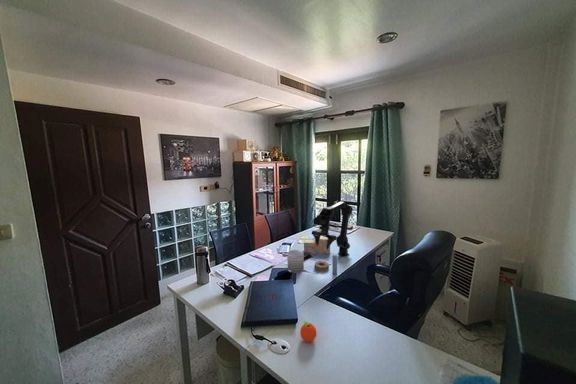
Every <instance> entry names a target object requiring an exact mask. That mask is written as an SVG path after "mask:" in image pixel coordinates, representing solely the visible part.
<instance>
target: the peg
mask: <svg viewBox="0 0 576 384" xmlns="http://www.w3.org/2000/svg"><path fill="white" fill-rule="evenodd" d="M331 258H332V262H331V263H332V266H331V267H332V270H331V271H332V275H333V276H337V274H338V256H337V255H335V254H333V255H332V257H331Z"/></svg>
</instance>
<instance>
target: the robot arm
mask: <svg viewBox="0 0 576 384" xmlns="http://www.w3.org/2000/svg"><path fill="white" fill-rule="evenodd" d="M339 210H341V211H340V213H341V216H342V218H341V225H340V232H339V233H340V234H339V235H338V236H337V235H334V234H330V233H329V231H330V229H331V227H330V224H331V223H330V222H331V221H332V220H333V218H332V216H333V215H334V214H335V212H338V211H339ZM353 211H354V209H353V206H351V205H349V204H347V202H346V201H339V202H337V203H334V204H333V205H331V206H324V207H322V209H321V210H320V211H319V214H317V215H316V216H315V217H314V218H313V224H314V225H315V226H319V228H318V229H315V230H312V231H311V235H312V236H313V237H314V240H316V245H317V246H318V243H319V240H320V237H327V238H328V239H327V249H328V248H329V246H330V247H331V245H332V244H333V242H335V241H336V245H337V247H338V248H339V249H338V253H337V254H338V256H339V255H340V256H341V257H343V258H344V257H347V256H349V255H350V253H348V252H349V250H350V248H351V243H349V238H348V236H347V234H348V227H349V219H350V218H351V216H352V214H353Z"/></svg>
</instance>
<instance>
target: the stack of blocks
mask: <svg viewBox="0 0 576 384" xmlns="http://www.w3.org/2000/svg"><path fill="white" fill-rule="evenodd" d="M327 239H328V238H327V237H324V236H320V240H319V243H318V246H317V245H316V240H315V239H312V240H311V239H309V240H308V239H305V240H303V253H304V252H311V253H310V254H322V255H323V254H328V255H331V245H330V246H329V248H328V249H327Z"/></svg>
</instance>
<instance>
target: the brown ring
mask: <svg viewBox="0 0 576 384" xmlns="http://www.w3.org/2000/svg"><path fill="white" fill-rule="evenodd" d="M329 267H330V264H329V262H327V261H325V260H323V261H322V260H318V261H316V262H314V270H315V271H317V272H323V273H325V272H327V271H329V270H330V269H329Z"/></svg>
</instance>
